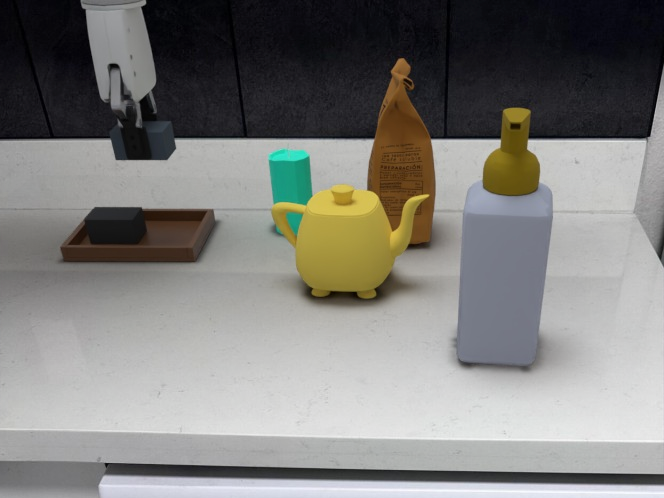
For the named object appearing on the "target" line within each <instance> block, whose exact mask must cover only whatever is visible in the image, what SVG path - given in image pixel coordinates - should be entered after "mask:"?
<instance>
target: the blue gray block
mask: <svg viewBox="0 0 664 498" xmlns="http://www.w3.org/2000/svg"><path fill="white" fill-rule="evenodd" d="M142 126H146V131H147V136H148V141H149V145H150V150H151V155H152V158H151V159H150V160H149V161H168V160H169V159H170V157H171V156H172V155H173V154H174V152H175V151H176V150H177V145H176V140H175V133H174V129H173V123H172V121H171V120H158V121H142ZM108 134H109V138H110V142H111V146H112V150H113V154H114V159H115V161H129V160H128V159H127V156H126V152H125V147H124V143H123V139H122V134H121V130H120V128H119V125H118V123H117V124H116V125H115V126H114V127H112V129H111V130H110V131H109V132H108Z"/></svg>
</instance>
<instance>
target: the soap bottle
mask: <svg viewBox="0 0 664 498" xmlns="http://www.w3.org/2000/svg"><path fill="white" fill-rule="evenodd" d="M531 115H532V113H531V110H530V109H527V108H522V107H508V108H504V109H503V111H502V119H501V132H500V147H498V148H496V149H495V150H493V151H492V152H490V154H489V155H487V158H486V160H485V161H484V164H483V168H482V179H481V180H478V181H475V182H474V183H472V184H471V185H470V186H469V187H468V188H467V193H466V196H465V200H464V201H465V202H464V206H463V210H462V220H461V221H462V222H461V223H462V224H461V243H460V245H461V246H460V266H459V285H458V286H459V287H458V306H457V307H458V309H457V329H456V330H457V331H456V348H455V349H456V350H455V354H456V356H457V358H458V359H459V361H461V362H464V363H471V364H485V365H501V366H517V367H526V366H531V365H532V363H533V362H534V361H535V360H536V357H537V349H538V343H539V333H540V324H541V316H542V309H543V302H544V301H543V300H544V294H545V293H544V292H545V285H546V276H547V268H548V260H549V254H550V253H549V252H550V245H551V235H552V227H553V219H554V204H553V203H554V202H553V201H554V199H553V198H554V197H553V195H554V194H553V191H552V190H551V188H550V187H549V186H548V185H546V184H545V183H543V182H541V181H540V177H541V165H540V161H539V159H538V157H537V156H536V154H535V153H533V152H532V151H530V150H529V149H528V145H529V133H530V125H531V123H530V122H531Z"/></svg>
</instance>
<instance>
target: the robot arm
mask: <svg viewBox="0 0 664 498" xmlns="http://www.w3.org/2000/svg"><path fill="white" fill-rule="evenodd" d="M80 4H81V8H82V9H83V10H85V16H86V17H85V18H86V26H87V27H86V28H87V36H88V40H89V47H90V52H91V56H92V57H91V58H92V63H93V68H94V73H95V78H96V83H97V89H98V92H99V96H100V99H101V100H102V102H104V103H110V108H111V110H112V112H113V114H114V115H115V117H116V118H117V124H118V125H119V128H120V130H121V134H122V139H123V143H124V147H125V152H126V156H127V159H128V160H127V161H151V160H150V159H151V158H152V155H151V150H150V145H149V141H148V136H147V131H146V126H142V121H159V117H158V113H157V112H158V110H157V105H156V101H155V97H154V90H153V88H154V87H155V86H156V83H157V73H156V68H155V62H154V57H153V52H152V47H151V46H152V45H151V42H150V38H149V33H148V29H147V25H146V21H145V17H144V13H143V9H142V7H143V6H145V5H146V4H147V0H80ZM125 96H129V98H130V99H125ZM128 106H129V107H128ZM131 106H132V109H131V108H130V107H131Z"/></svg>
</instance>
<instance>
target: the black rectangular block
mask: <svg viewBox="0 0 664 498" xmlns="http://www.w3.org/2000/svg"><path fill="white" fill-rule="evenodd" d="M92 209H93V210H92ZM92 209H91V210H92V211H91V210H90V211H91V212H90V211H89V212H88V214H87V215H88V216H87V215H86V216H87V217H86V216H85V217H86V218H85V217H84V218H85V219H84V218H83V220H84V222H85V225H86V229H87V232H88V236H89V240H90V243H91V244H138V243H139V242H140V240H141V239H142V237H143V236H144V234H145V233H146V231H147V228H146V224H145V219H144V215H143V210H142V209H143V207H142V206H94V207H93V208H92Z"/></svg>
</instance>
